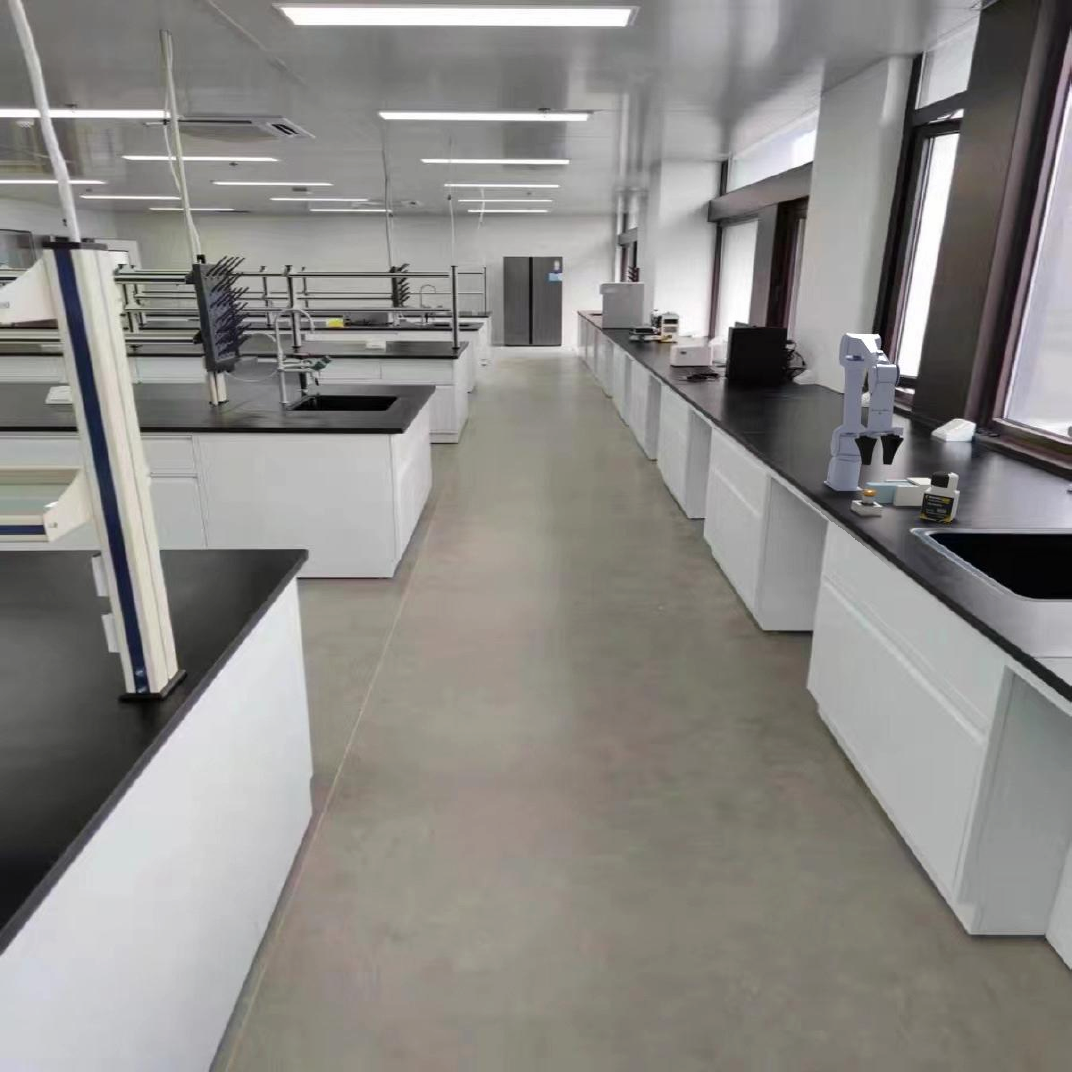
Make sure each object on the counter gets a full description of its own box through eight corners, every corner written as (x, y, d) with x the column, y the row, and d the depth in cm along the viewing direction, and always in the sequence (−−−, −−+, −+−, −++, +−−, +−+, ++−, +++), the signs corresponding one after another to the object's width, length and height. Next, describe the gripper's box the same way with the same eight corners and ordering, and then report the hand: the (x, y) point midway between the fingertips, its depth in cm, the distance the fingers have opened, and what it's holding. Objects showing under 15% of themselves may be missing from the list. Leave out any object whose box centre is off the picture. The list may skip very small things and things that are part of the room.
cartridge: (862, 499, 212) (865, 482, 210) (921, 499, 213) (924, 482, 211) (868, 503, 208) (871, 485, 207) (929, 503, 209) (932, 486, 207)
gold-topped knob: (856, 503, 201) (859, 489, 200) (870, 503, 202) (873, 489, 200) (863, 507, 198) (865, 493, 197) (877, 507, 198) (880, 493, 197)
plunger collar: (850, 509, 203) (852, 500, 202) (871, 509, 203) (872, 500, 202) (860, 515, 198) (861, 506, 197) (881, 516, 198) (882, 506, 197)
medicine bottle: (918, 518, 197) (927, 472, 193) (925, 512, 202) (933, 468, 198) (949, 523, 193) (958, 477, 189) (955, 517, 198) (964, 472, 194)
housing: (881, 498, 214) (885, 477, 212) (923, 498, 215) (927, 477, 213) (894, 506, 207) (898, 484, 205) (937, 506, 208) (942, 484, 206)
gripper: (848, 412, 201) (844, 464, 202) (888, 408, 188) (884, 463, 189) (870, 414, 204) (866, 465, 204) (911, 410, 190) (907, 465, 191)
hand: (876, 464), depth 197 cm, fingers open, 7 cm apart
